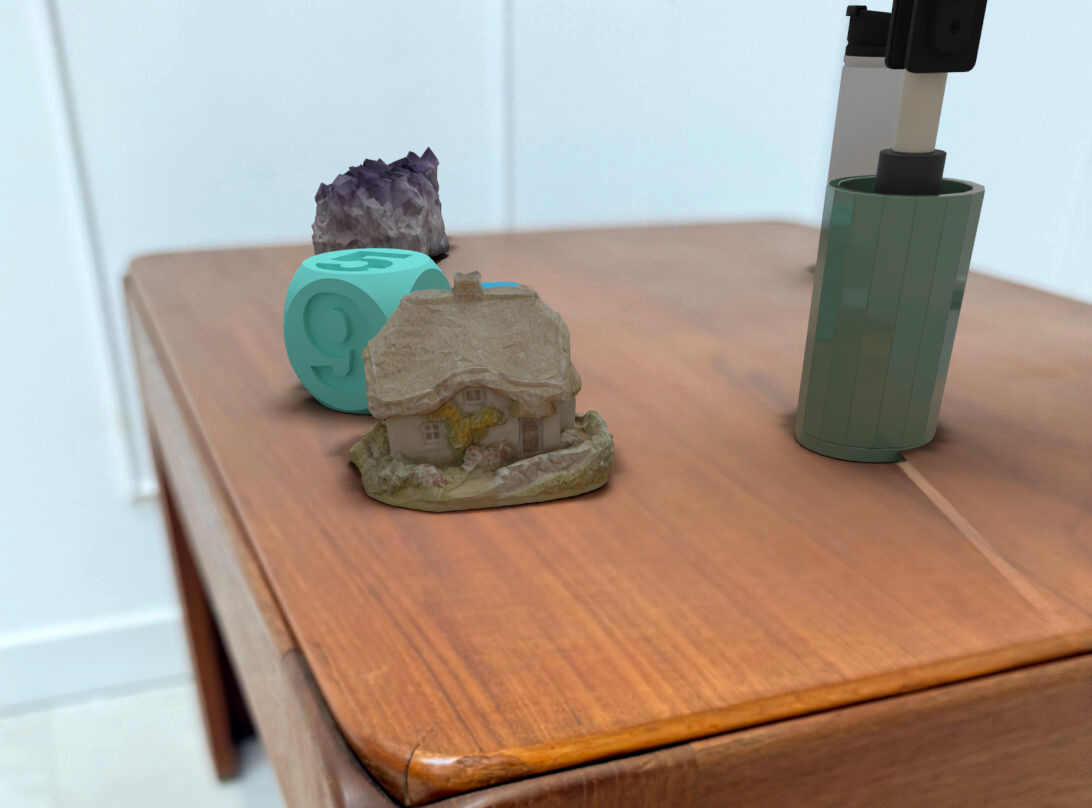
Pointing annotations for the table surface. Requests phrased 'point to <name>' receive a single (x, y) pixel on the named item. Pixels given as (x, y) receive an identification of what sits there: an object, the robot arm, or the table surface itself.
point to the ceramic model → (477, 404)
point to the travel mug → (865, 97)
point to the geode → (382, 208)
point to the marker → (915, 140)
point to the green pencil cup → (883, 316)
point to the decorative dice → (347, 316)
